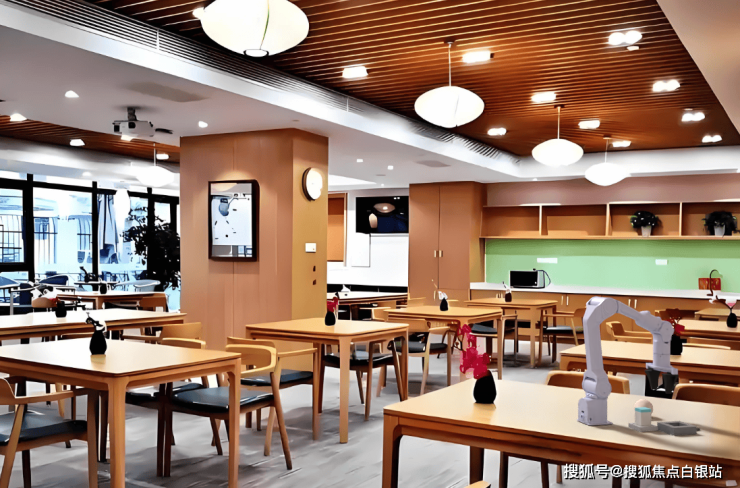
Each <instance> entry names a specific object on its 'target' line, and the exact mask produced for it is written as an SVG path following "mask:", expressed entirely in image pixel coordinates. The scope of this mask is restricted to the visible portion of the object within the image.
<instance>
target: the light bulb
mask: <svg viewBox="0 0 740 488" xmlns="http://www.w3.org/2000/svg"><path fill="white" fill-rule="evenodd" d="M633 405H634V406H633V409H634V411H635V408H638V407H646V408H650V409H651V415H652V414H653V413H654V406H653V403H652V402H651V401H649V400H648V399H645V398H641V399H638V400H636V402H635V403H634V404H633Z"/></svg>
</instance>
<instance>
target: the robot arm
mask: <svg viewBox="0 0 740 488" xmlns="http://www.w3.org/2000/svg"><path fill="white" fill-rule="evenodd" d="M585 306H586V309H585V312H584V314H583V317H582V327H583V328H582V329H583V336H584V350H585V358H586V361H585V362H586V370H585V372H584V373H582V374H583V380H582V382H581V387H582V390H583V391H584V394H585V397H581V398H579V400H578V402H577V418H576V421H577V422H580V423H582V424H584V425H588V426H600V425H613V422H612V421H609V420H608V399H609V396H610V395H611V392H612V385H611V383H610V381H609V376H608V374H607V373H606V371H605V370H604V362H603V361H604V360H603V350H602V339H601V331H600V330H601V329H600V325H601V324H602V323H603V322H604V321H605V320H607V319H609V318H610V317H612V316H613V315H615V314H620V315H623V316H625V317H627V318H630V319H632V320H634V323H635V324H636V326H639V327H640V328H642V329H644V330H646V331H648V332H649V333H650V334H651V335H652V362H645V368H646V369H644V373H645V375H646V376H647V379H648V382H649V385H650V389H651V390H652V391H653V390H655V391H656V390H658V388H659V379H660V378H659V377H660V374H661V376H662V379H663V382H664V392H665V393H664V394H668V395H669V394H672V393H673V390H674V386H675V384H676V382H677V380H678V378H679V376H680V375H679V369H678V368H677V367H676V368H675V367H674V366H673V365H671V341H672V337H673V336H672V335H674V332H675V328H674V327H673V324H672V323H671V322H670V321H667V320H662V317H660V316H655V315H653V314H652V313H651V311H650V310H642V311H641V310H640V311H638V310H636V309H635V308H633V307H632V306H629V305H628V304H625V303H623V302H622V301H621V300H617V299H614V298H613V297H605V296H604V297H603V296H597V295H595V296H592V297H591V298H590V299H589V300H588V301H587V302H586V303H585ZM662 372H663V373H662Z"/></svg>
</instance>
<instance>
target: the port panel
mask: <svg viewBox="0 0 740 488" xmlns="http://www.w3.org/2000/svg"><path fill="white" fill-rule="evenodd" d="M656 426H658V431H659V430H660V431H659V432H663V433H665V434H668V435H670V434H671V436H673V435H675V436H685V435H686V436H687V435H688V436H689V435H697V433H698V432H697V431H701V427H697V425H694V424H690V423H687V422H685V421H681V420H674V421H673V420H671V421H659V422H658V421H657V422H656Z"/></svg>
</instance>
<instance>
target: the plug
mask: <svg viewBox="0 0 740 488" xmlns="http://www.w3.org/2000/svg"><path fill="white" fill-rule="evenodd" d="M634 423H635V425H638V426H640V427H642V426H651V424H652V414H651V409H650V408H646V407H638V408H635V410H634Z"/></svg>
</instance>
